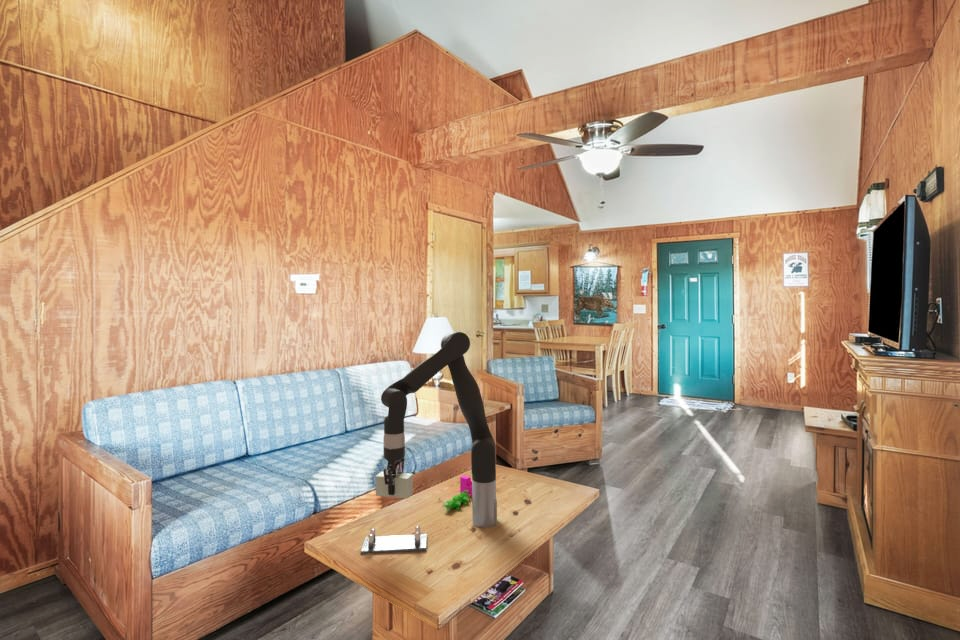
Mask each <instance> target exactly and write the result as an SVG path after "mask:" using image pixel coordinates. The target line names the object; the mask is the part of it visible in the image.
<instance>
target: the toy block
mask: <svg viewBox="0 0 960 640" xmlns="http://www.w3.org/2000/svg"><path fill="white" fill-rule="evenodd" d="M459 483H460V484H459V485H460V486H459V491H460V492H459V494H461V492H462V493H463V492H464V490H468V492H467V493H466V494H467V496H468V495H469V494H470V497H469V498H472V477H470V476H467V475H462V476H460V478H459Z"/></svg>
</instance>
